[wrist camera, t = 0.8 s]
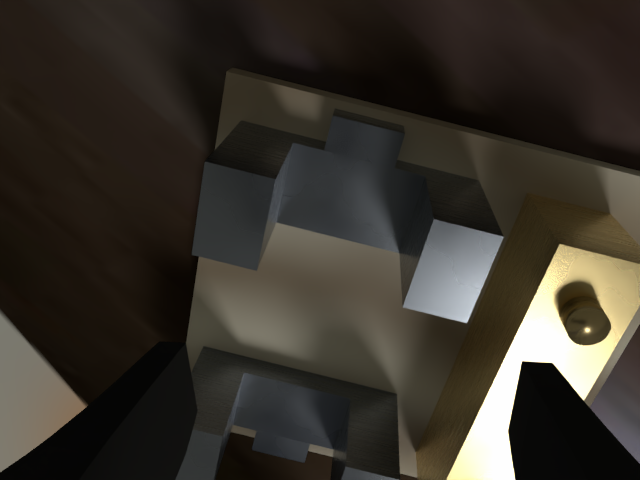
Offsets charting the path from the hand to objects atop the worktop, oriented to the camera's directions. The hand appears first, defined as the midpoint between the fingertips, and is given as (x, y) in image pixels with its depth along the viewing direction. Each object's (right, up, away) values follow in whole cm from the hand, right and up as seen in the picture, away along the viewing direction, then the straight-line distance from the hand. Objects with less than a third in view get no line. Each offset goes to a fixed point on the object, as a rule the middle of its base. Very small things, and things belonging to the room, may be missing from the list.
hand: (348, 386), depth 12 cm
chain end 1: (0, +5, +8) cm, 9 cm away
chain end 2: (-2, -4, +13) cm, 13 cm away
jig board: (+3, 0, +11) cm, 11 cm away
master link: (+7, -1, +10) cm, 12 cm away
